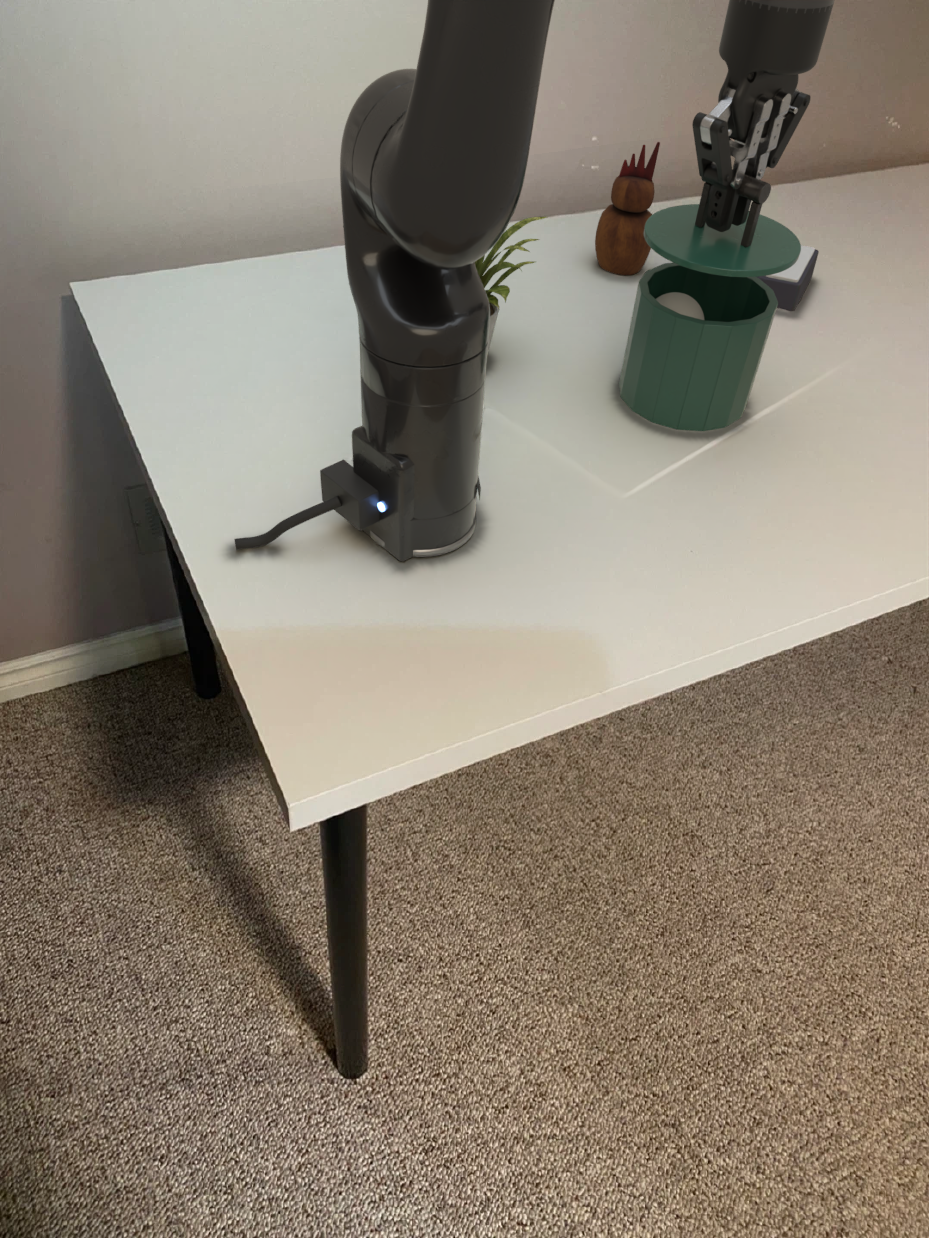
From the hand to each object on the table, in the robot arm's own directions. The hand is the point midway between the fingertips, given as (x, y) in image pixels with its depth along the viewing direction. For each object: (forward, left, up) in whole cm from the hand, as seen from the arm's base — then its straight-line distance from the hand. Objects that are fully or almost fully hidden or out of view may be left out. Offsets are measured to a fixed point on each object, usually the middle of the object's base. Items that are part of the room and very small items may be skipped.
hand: (725, 224), depth 81 cm
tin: (0, 0, -18) cm, 18 cm away
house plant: (-12, +18, -18) cm, 28 cm away
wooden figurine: (+17, +23, -18) cm, 34 cm away
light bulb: (0, +1, -17) cm, 17 cm away
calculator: (+27, +12, -18) cm, 35 cm away
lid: (0, 0, -2) cm, 2 cm away
